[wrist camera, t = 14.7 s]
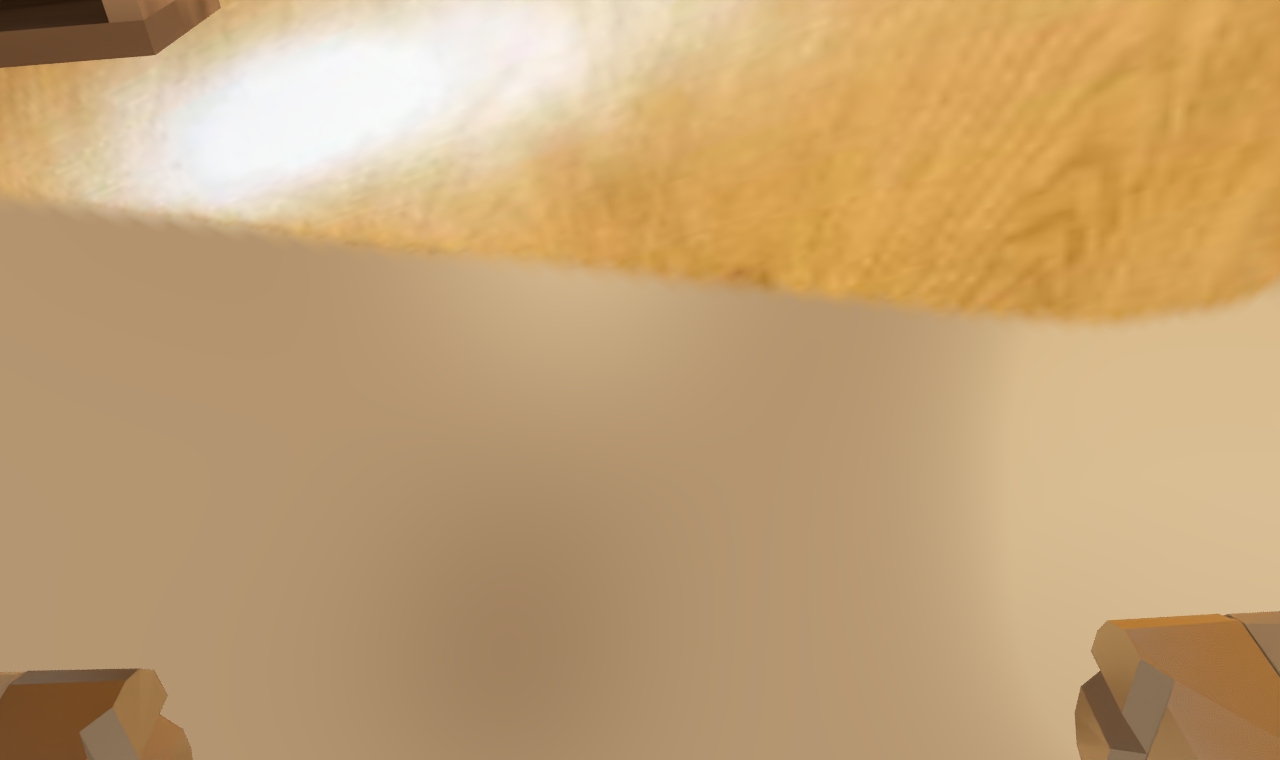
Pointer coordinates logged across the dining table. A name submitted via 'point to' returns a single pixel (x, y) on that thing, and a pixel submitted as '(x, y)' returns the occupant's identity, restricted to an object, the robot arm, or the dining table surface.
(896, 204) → the dining table surface
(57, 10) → the big crate
